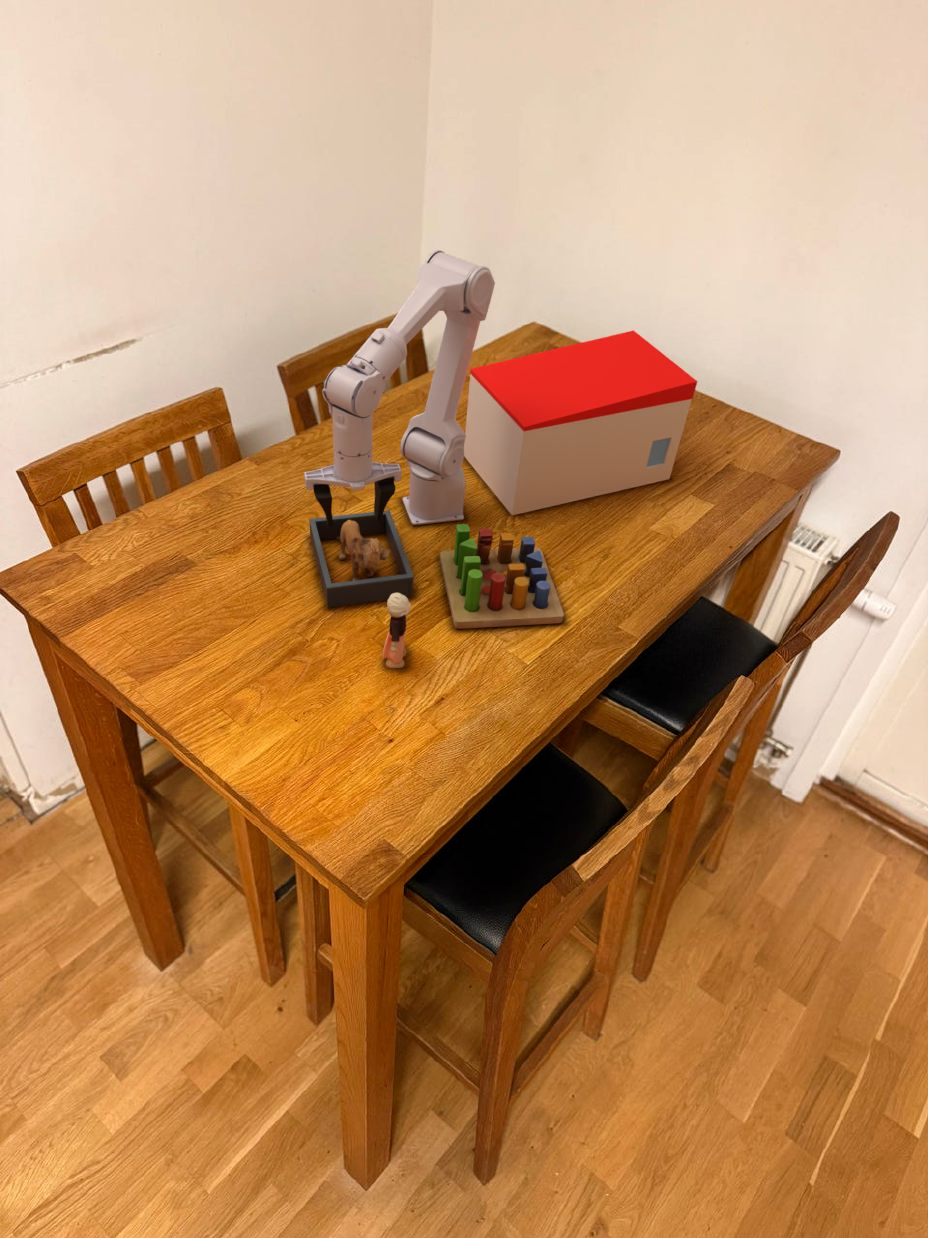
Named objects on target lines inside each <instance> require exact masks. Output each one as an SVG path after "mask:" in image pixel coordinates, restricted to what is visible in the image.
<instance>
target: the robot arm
mask: <svg viewBox="0 0 928 1238" xmlns="http://www.w3.org/2000/svg"><path fill="white" fill-rule="evenodd" d="M416 282H417V285H416V286H415V288H414V289H413V291H412V292H411V294H410V295H409V297H408V298H407V300H406V301H405V303H404V304H403V305H402V307H401V308H400V309H399V311H398V313H397V314H396V316H395V317H394V318H393V320H392V321H391V322H390V324H389V325H388V327H381V328H380V327H379V328H376V329H375V330H374V331H373V332H372V334H371V335H370V336H369V337H368V338H367V339H366V341H365V342H364V343H363V345H361V346H360V348H359V349H358V350H357V351H356V352H355V354H354V355H353V356H352V358H350V360H349V361H348V362H347V363H346V364H344V365H341V366H336V367H334V368H333V369H331V371H330V372H329V373H328V374H327V376H326V378H325V382H324V386H323V389H322V390H321V393H322V398H323V400H324V401H325V402H326V403H327V405H328V413H329V414H330V415H331V416H332V441H333V443H332V444H333V445H332V446H333V447H332V449H333V464H330V465H328V466H324V467H322V468H318V469H315V470H310V471H304V472H303V476H304V479H303V480H304V486H305V489H306V490H307V491H310V490H311V491H312V490H313V494H314V497H315V499H316V501H317V502H318V504H319V505H320V507H321V509H322V511H323V512H324V515H325V517H326V520H327V524H328V526H329V527H331V526H333V519H332V516H333V511H332V510H333V507H332V506H333V496H332V493H331V487H330V486H339V487H347V488H350V490H352V491H362V490H365V486H367V485H369V484H372V483H374V502H373V512H374V515H375V517H376V520H377V522H378V521H381V519H382V515H383V512H384V511H385V509H386V507H387V504H388V503H389V501H390V500H391V498H392V497H393V496H394V495H395V493H396V488H397V487H396V484H395V482H402V468H401V465H400V463H383V462H374V461H373V413H374V412H375V411H377V409H378V407H379V406H380V403H381V400H382V396H383V394H384V392H385V391H386V388H387V385H386V383H387V382H388V380H390V378H391V377H392V376H393V374H395V372H396V371H397V370H398V368H399V367H400V366H401V365H402V364H403V362H404V361H405V360H406V359H407V357H408V348H407V347H408V346H407V345H408V344H409V343H410V341H411V340H413V338H415V337H416V336H417V334H418V333H419V332H421V330H422V329H423V328H424V327H425V326H426V325H427V324H428V323H430V321H431V320H432V319H433V318H434V317H435V316H436V315H438V313H439V312H443V313H444V315H445V316H446V321H445V326H444V331H443V333H442V337H441V342H440V346H439V350H438V354H437V359H436V362H435V366H434V371H433V375H432V379H431V384H430V387H429V391H428V396H427V398H426V399H427V400H426V403H425V408H424V412H422V413H421V412H420V413H418V414H416V415H414V416H412V417H411V418H409V422H408V425H407V428H406V430H405V432H404V433H403V436H402V438H401V440H400V453H401V454H400V455H401V457H402V458H403V459H406V466H407V467H409V491H408V496H404V497H402V503H403V505H404V508H405V510H406V513H407V516H408V518H409V520H410V523H411V525H412V526H420V525H428V524H437V523H446V522H457V521H462V520H464V518H465V516H464V507H465V506H464V505H465V495H466V477H465V472H464V469H463V467H462V465H463V462H464V459H465V457H464V443H465V438H466V435H465V431H464V430H463V428H462V427H461V426H460V424H459V422H458V421H457V419H456V418H457V417H456V416H457V413H458V409H459V405H460V401H461V397H462V393H463V390H464V386H465V383H466V378H467V374H468V372H469V366H470V362H471V359H472V354H473V351H474V347H475V343H476V340H477V336H478V332H479V329H480V324H481V322H483V321H486V318H487V315H488V312H489V309H490V305H491V301H492V297H493V293H494V288H495V284H496V281H495V278H494V277H493V274H492V272H491V270H490V268H489V267H487V266H485V265H478V264H476V263H473V262H472V261H471V262H470V261H468V260H465V259H463V258H460V257H456V256H454V255H452V254H449V253H446V252H445V251H443V250H440V249H435V250H433V251H432V252H430V253H428V255H427V257H426V258H425V259H424V261H423V263H422V264H421V265H420V266H419V268H418V271H417V281H416Z"/></svg>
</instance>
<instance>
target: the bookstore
mask: <svg viewBox="0 0 928 1238" xmlns="http://www.w3.org/2000/svg"><path fill="white" fill-rule="evenodd" d="M469 373H470V374H469V385H468V386H469V387H468V397H467V406H466V407H467V408H466V419H465V420H466V421H465V429H464V433H465V435H466V438H465V443H464V459H466V460H467V462H468V463H469V464H470V466H471V467H473V469H474V470H475V472H476V473H477V474H478V475H479V477H480V478H481V479H482V480H483V482H484V483H485V484H486V486H488V488H489V490H491V492H492V493H493V494H494V496H495V497H496V498H497V499H498V500H499V502H500V503H501V504H502V505H503V507H504V508H505V509H506V510H507V512H509V514H510V515H511V516H516V515H520V514H524V513H529V512H534V511H537V510H540V509H547V508H550V507H554V506H559V505H563V504H568V503H572V502H575V501H576V502H577V501H581V500H585V499H590V498H594V497H597V496H602V495H607V494H611V493H616V492H619V491H623V490H624V491H625V490H628V489H632V488H633V489H634V488H638V487H641V486H645V485H646V486H647V485H650V484H654V483H658V482H662V481H667V480H670V478H671V475H672V471H673V468H674V464H675V461H676V457H677V453H678V450H679V446H680V443H681V439H682V435H683V432H684V428H685V424H686V422H687V417H688V414H689V411H690V408H691V404H692V400H693V399H694V396H695V392H696V388H697V385H698V380H697V379H695V378H694V377H693V376H691V375H690V374H689V373H688V372H686V371H685V370H684V369H683V368H682V367H680V366H679V365H678V364H677V363H675V362H674V360H671V359H670V358H669V357H668V356H667V355H665V354H664V353H663V352H662V351H660V350H659V349H657V348H656V347H655V346H654V345H653V344H652V343H650V342H649V341H648V340H646V339H645V338H644V337H642V336H641V335H640V334H639V333H638V332H636V331H635V330H629V331H626V332H625V331H624V332H620V333H616V334H612V335H607V336H602V337H599V338H596V339H591V340H587V341H581V342H579V343H573V344H570V345H566V346H561V347H557V348H552V349H549V350H545V351H540V352H536V353H531V354H528V355H527V354H526V355H523V356H519V357H515V358H511V359H506V360H501V361H498V362H493V363H490V364H485V365H480V366H476V367H473V368H470V369H469Z"/></svg>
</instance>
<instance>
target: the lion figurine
mask: <svg viewBox="0 0 928 1238" xmlns="http://www.w3.org/2000/svg"><path fill="white" fill-rule="evenodd" d="M336 538H337V539H336V540H337V541H339V542H340V551H339V555H338V560H340V561H344V560H346V559H347V555H346V549H347V551H348V553H349V556H350V560H351V569H352V581H356V580H361V576H360V573H359V572H360V571H359V570H361V571H362V572H364V574H365V575H366V576H367V577H368V578H371V577H372V578H373V576H374V575H375V571H372V569H377V568H378V567H379V566H380V565H381V561H384V562H385V561H387V558H389V557H390V556H389V555H390V554H391V549H388V548H386V547H384V546H383V545H382V544H380V540H378V538H377V537H374V538H371V537H370V538H369V537H368V538H364V537H363V536H361V535H360V528H359V525H358V523H357V522H355V521H351V520H347V522H345V523H344V524H343V525H342V528H341V534H340V537H336Z"/></svg>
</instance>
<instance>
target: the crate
mask: <svg viewBox="0 0 928 1238" xmlns="http://www.w3.org/2000/svg"><path fill="white" fill-rule="evenodd" d="M332 519H333V526H331V527H329V526H328V524H327V520H326V516H323V517H313V518H308V522H309V535H310V537H309V539H310V543H311V547H312V551H313V555H314V559H315V562H316V567H317V571H318V574H319V579H320V583H321V586H322V591H323V594H324V598H325V601H326V606H327V608H328V609H331V608H336V607H344V606H351V605H360V604H366V603H374V602H381V601H382V602H383V601H388V599H389V597H390V595H391V594H393V593H400V594H402V595H404V596H406V597H407V598H410V597H413V595H414V579H415V577H414V573H413V571H412V568H411V565H410V562H409V559H408V557H407V554H406V552H405V549H404V546H403V543H402V541H401V537H400V535H399V532H398V530H397V526H396V524H395V521H394V519H393V516H392V512H391V511H390V509H388V510H387V509H386V510H384V512H383V515H382V519H381V521H378V522H377V520H376V517H375V515H374V511H369V512H361V513H350V514H340V515H332ZM347 520H351V521H355V522H357V523H358V525H359V528H360V535H361V536H362V537H363V536H372V535H380V534H385V535H386V538H387V542H388V544H389V547H390V551H391V553H392V556H393V558H394V561H395V564H396V567H397V570H398V573H399V574H395V575H388V576H379V577H372V578H365V579H360V580H356V581H353V580H350V581H341V582H333V583H332V580H331V576H330V572H329V568H328V565H327V561H326V557H325V553H324V550H323V546H322V541H327V540H337V538H336V537H340V534H341V528H342V525H343V524H344V523H345V522H347Z"/></svg>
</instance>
